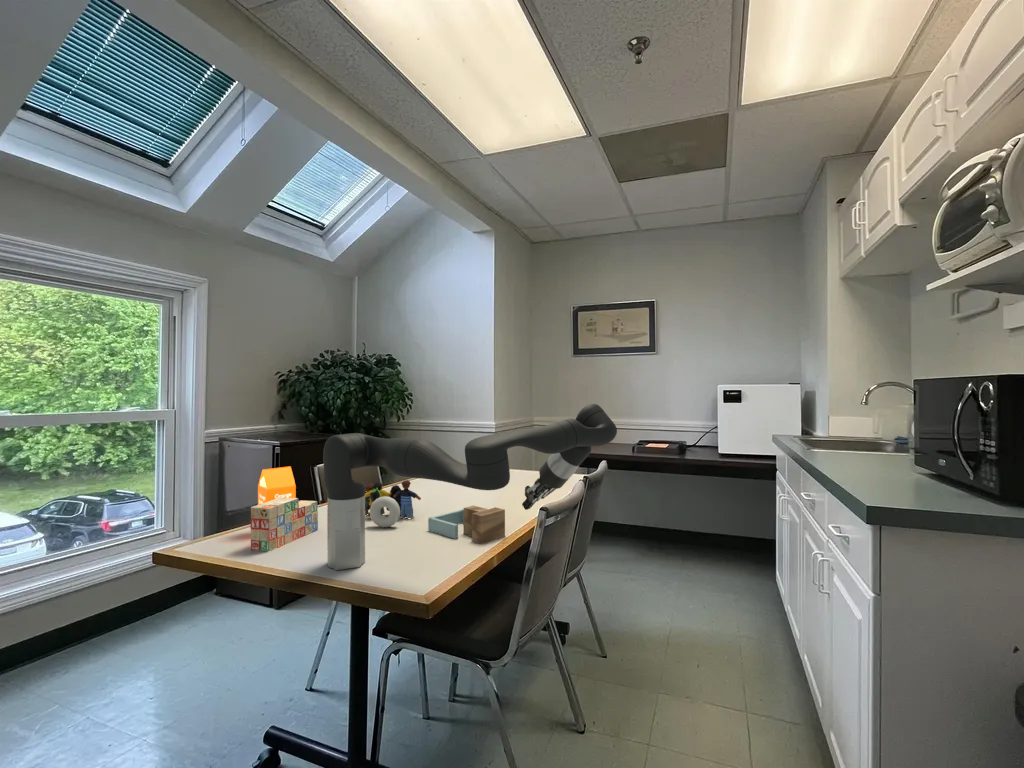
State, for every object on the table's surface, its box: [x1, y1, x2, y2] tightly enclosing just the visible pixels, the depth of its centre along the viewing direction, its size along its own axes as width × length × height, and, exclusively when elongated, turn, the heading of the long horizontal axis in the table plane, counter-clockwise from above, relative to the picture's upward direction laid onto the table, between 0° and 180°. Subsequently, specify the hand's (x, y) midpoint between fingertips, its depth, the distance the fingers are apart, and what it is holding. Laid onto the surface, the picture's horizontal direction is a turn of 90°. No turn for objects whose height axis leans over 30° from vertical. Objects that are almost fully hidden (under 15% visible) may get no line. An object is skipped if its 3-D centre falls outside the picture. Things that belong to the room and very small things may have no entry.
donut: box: [369, 496, 401, 528], centre depth 158 cm, size 10×4×10 cm, turn 84°
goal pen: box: [427, 509, 464, 540], centre depth 155 cm, size 13×14×4 cm
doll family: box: [365, 479, 422, 519], centre depth 171 cm, size 23×9×13 cm, turn 91°
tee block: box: [463, 505, 506, 544], centre depth 149 cm, size 11×10×8 cm
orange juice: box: [257, 465, 297, 505], centre depth 154 cm, size 8×9×20 cm
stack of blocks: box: [250, 497, 319, 552], centre depth 146 cm, size 21×6×12 cm, turn 166°
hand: (525, 506), depth 138 cm, fingers closed
